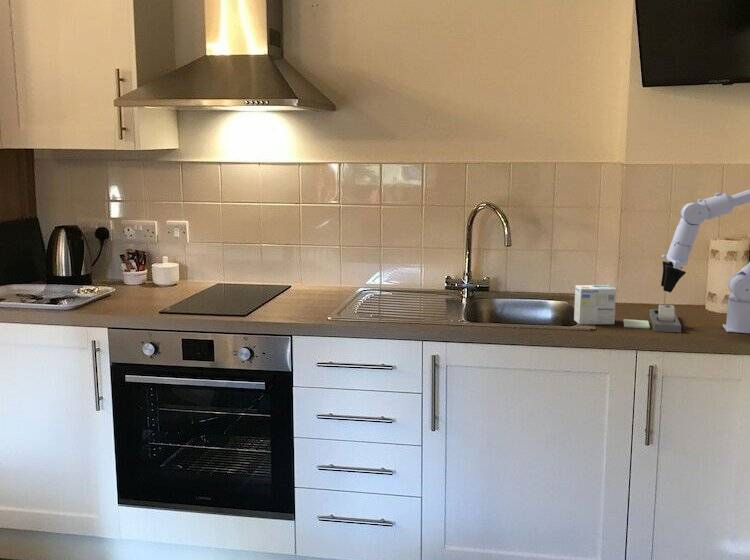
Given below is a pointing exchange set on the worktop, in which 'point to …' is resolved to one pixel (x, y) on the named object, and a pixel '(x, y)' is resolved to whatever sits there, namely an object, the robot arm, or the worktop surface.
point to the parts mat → (636, 323)
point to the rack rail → (664, 323)
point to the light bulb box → (595, 304)
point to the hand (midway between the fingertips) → (665, 289)
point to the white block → (666, 313)
